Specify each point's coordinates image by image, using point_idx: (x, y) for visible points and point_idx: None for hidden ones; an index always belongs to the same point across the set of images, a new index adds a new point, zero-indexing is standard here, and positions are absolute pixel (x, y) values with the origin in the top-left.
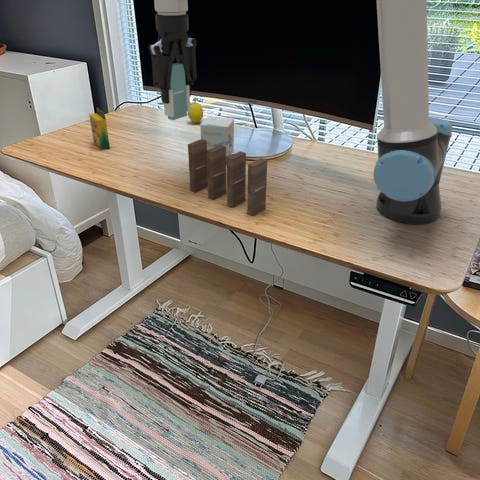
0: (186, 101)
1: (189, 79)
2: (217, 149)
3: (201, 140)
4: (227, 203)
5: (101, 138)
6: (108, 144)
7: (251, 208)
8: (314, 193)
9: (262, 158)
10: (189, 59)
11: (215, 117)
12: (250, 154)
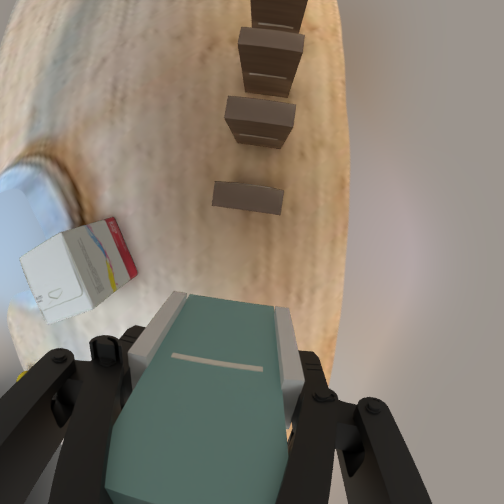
0: (173, 321)
1: (104, 373)
2: (264, 103)
3: (224, 196)
4: (287, 95)
5: None
6: None
7: None
8: (151, 12)
9: None
10: (17, 463)
11: (41, 301)
12: (56, 209)
